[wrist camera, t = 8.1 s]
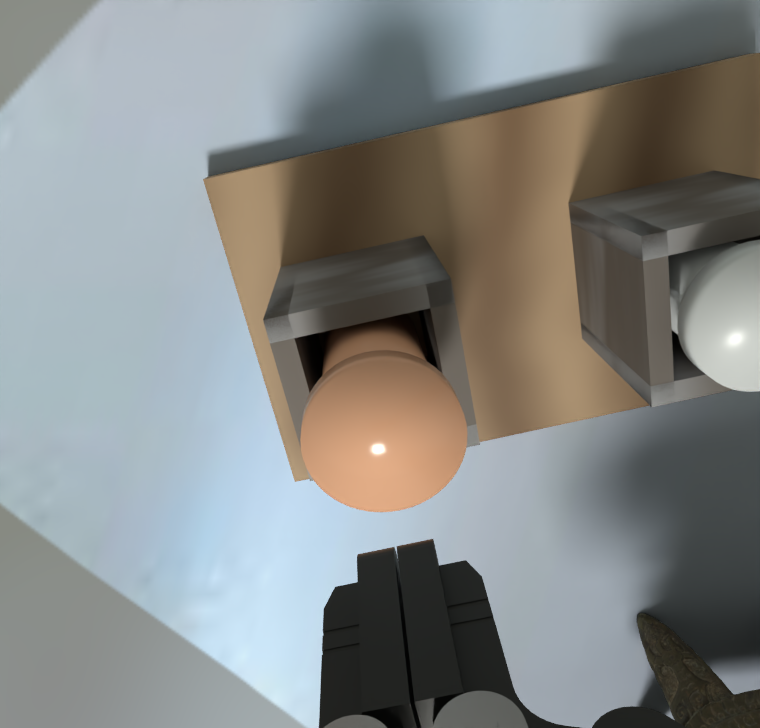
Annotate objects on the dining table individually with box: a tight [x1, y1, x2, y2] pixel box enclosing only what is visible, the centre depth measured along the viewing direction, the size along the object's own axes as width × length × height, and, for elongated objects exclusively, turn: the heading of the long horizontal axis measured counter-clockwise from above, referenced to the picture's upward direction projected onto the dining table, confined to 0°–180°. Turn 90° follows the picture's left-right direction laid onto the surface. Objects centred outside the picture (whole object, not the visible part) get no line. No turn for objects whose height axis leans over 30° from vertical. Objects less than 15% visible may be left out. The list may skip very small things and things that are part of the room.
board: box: [203, 53, 760, 482], centre depth 25 cm, size 22×14×8 cm, turn 102°
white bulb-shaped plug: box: [668, 240, 760, 392], centre depth 24 cm, size 5×5×8 cm
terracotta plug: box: [300, 313, 467, 512], centre depth 22 cm, size 5×5×8 cm
